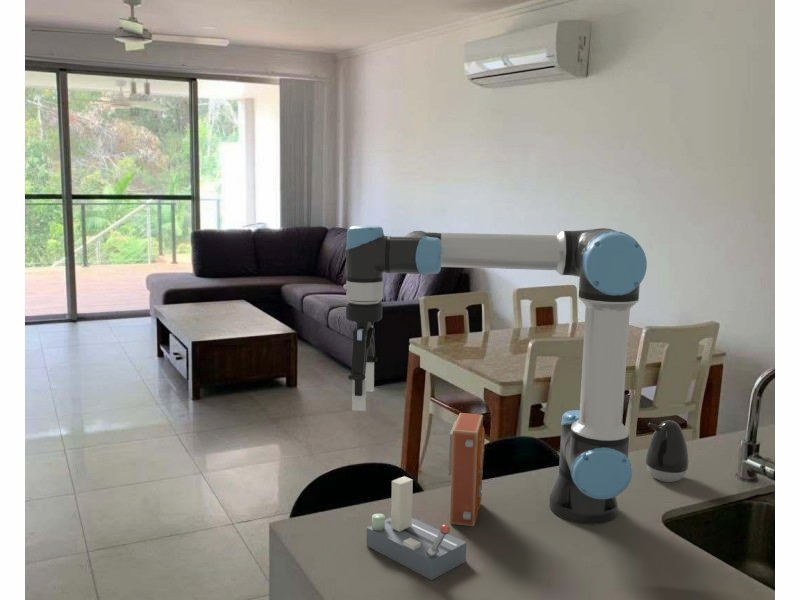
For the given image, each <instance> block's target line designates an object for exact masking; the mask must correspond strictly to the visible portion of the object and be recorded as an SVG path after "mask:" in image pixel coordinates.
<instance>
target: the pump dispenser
mask: <svg viewBox="0 0 800 600" xmlns="http://www.w3.org/2000/svg"><path fill="white" fill-rule="evenodd" d="M647 426H648V427H649V428H651V429H652V430H654V432H653V434H652V435H651V438H650V441H649V444H648V448H647V451H646V457H645V464H646V465H647V466H646V467H647V470H648V472H649V473H650V475H651V476H652V477H653V478H654V479H655V480H657V481H658V480H659V481H660V482H665V483H674V482H678V481H680V480H682V479H683V478H684V477H685V474H686V472H687V471H688V470H689V462H690V461H689V450H688V446H687V440H686V438H685V434H684V431H683V430H682V428H681V426H680V424H678V423H677V422H676V421H673V420H664V421H662V422H661V423H660V424H659V425H657V424H654V423H652V422H648V424H647Z"/></svg>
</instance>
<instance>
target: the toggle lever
mask: <svg viewBox="0 0 800 600" xmlns="http://www.w3.org/2000/svg"><path fill="white" fill-rule="evenodd" d="M439 530H440V533H439V534H438V536H437V538H436V540H435V542H434V543H433V545H432V547H431V548H430V549H428V550H427V551H426V554H427V556H428V557H432V556H434V555H436V554H438V553H439V550H438V548H439V546H440V544H441V542H442V541H443V539H444V537H445V535H446V534H449V533H450V531H451V529H450V526H449V525H448V524H442V525H440V529H439Z"/></svg>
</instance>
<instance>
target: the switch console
mask: <svg viewBox="0 0 800 600" xmlns="http://www.w3.org/2000/svg"><path fill="white" fill-rule="evenodd" d="M439 533H440V529H438V528H435V527H433V526H432V525H429V524H428V523H425V522H423V521H421V520H418V519H416V518H414V517H412V526H411V527H408V528H406V529H404V530H402V531H400V532H399V531H397V530H395V529H393V528H391V516H390V517H389V518H385V528H384V529H383V530H379V531H377V530H374V529H372V525H370V526H367V527H366V547H367V548H369V549H371V548H372V550H373V549H374V551H375V552H377V553H379V554H381V555H383V556H385V557H387V558H389V559H391V560H393V561H395V562H396V563H398V564H401V566H404V567H406V568H408V569H410V570H411V571H414V572H415V573H417V574H419V575H421V576H423V577H424V578H427V579H429V580H431V581H432V580H435V579H437V578H438V577H441V576H442V575H444V574H446V573H447V572H450V571H452V570H453V569H455V568H456V567H458V566H461V565H462V564H463V563H465V562H467V542H466V541H465V540H462V539H460V538H457V537H455V536H453V535H451V534H449V533H448V534H446V535H445V537H444V539H443V541H442V542H441V544H440V546H439V548H438V550H439V553H438V554H436V555H434V556H432V557H428V556H427V554H426V551H427V550H428V549H430V548H431V547H432V545H433V543H434V542H435V540H436V538H437V536H438V534H439Z"/></svg>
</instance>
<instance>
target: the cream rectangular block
mask: <svg viewBox="0 0 800 600" xmlns="http://www.w3.org/2000/svg"><path fill="white" fill-rule="evenodd" d="M413 481H414V479H412V478H410V477H407V476H405V475H404V476H402V477H398V478H396V479H393V480H391V501H390V502H391V505H390V506H391V510H390V512H391V513H390V515H391V516H390V517H391V528H393V529H395V530H397V531H399V532H400V531H402V530H404V529H406V528H408V527H411V526H412V518H413V483H414V482H413Z"/></svg>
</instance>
